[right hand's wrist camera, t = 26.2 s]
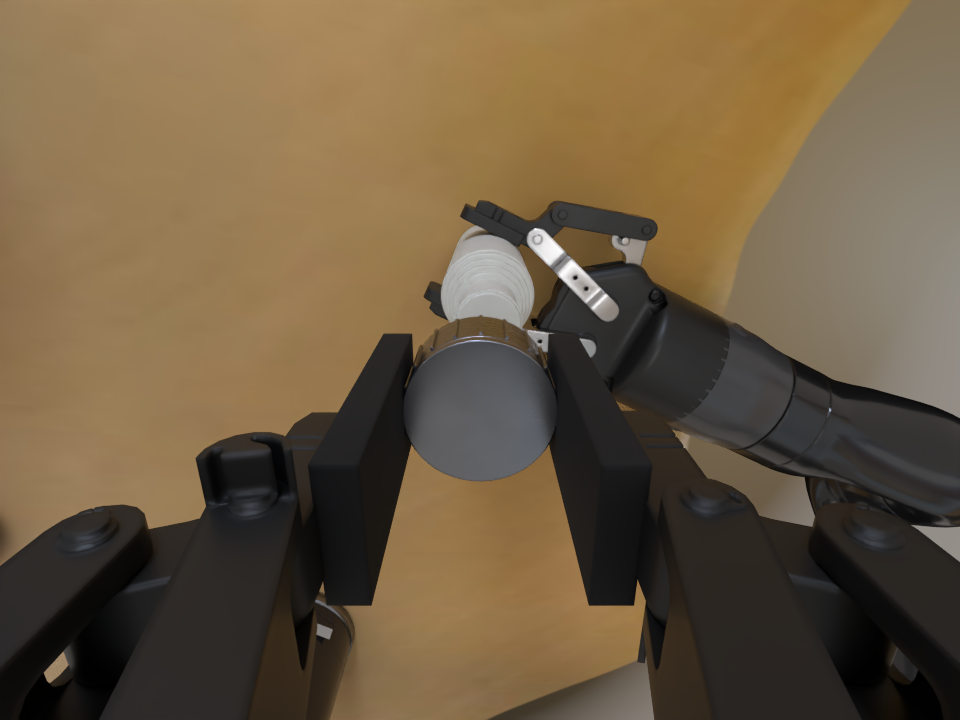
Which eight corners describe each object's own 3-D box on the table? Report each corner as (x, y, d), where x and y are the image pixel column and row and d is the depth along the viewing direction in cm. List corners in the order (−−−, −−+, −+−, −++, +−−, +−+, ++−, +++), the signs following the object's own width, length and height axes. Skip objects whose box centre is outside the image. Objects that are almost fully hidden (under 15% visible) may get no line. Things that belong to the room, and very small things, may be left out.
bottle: (444, 240, 36) (410, 298, 20) (502, 212, 35) (517, 248, 19) (471, 296, 37) (461, 395, 21) (528, 270, 37) (563, 352, 20)
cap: (445, 461, 15) (440, 504, 13) (385, 346, 14) (370, 375, 12) (569, 414, 15) (582, 452, 13) (518, 291, 13) (525, 312, 11)
